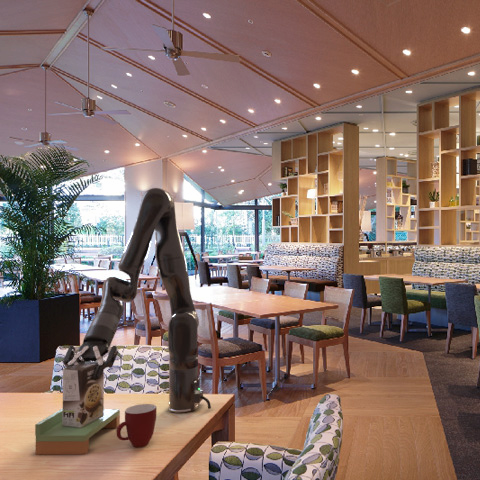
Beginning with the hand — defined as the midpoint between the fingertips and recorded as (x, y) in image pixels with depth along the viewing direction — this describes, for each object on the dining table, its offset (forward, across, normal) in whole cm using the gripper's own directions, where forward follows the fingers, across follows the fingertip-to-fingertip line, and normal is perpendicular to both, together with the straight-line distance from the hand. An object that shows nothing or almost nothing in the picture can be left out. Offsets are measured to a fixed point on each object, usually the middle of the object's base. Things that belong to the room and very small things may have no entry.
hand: (80, 379), depth 138 cm
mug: (+15, +17, +10) cm, 25 cm away
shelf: (+11, -1, +14) cm, 18 cm away
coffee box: (+8, 0, +10) cm, 13 cm away
